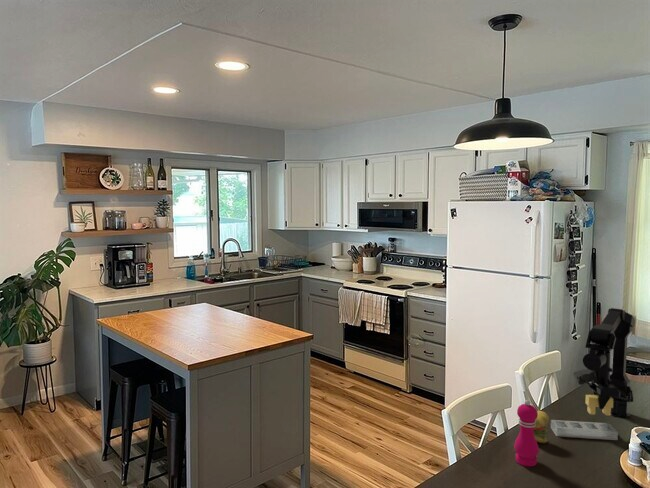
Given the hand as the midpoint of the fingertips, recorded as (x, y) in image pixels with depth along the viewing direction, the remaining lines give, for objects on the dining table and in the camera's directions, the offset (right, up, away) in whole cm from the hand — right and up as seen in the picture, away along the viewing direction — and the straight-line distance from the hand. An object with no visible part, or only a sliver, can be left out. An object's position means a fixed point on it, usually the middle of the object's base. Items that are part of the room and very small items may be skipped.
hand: (599, 406), depth 175 cm
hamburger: (-24, -11, -5) cm, 27 cm away
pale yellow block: (0, -2, 0) cm, 2 cm away
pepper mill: (-34, -12, -18) cm, 40 cm away
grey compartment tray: (-5, -10, +1) cm, 11 cm away
